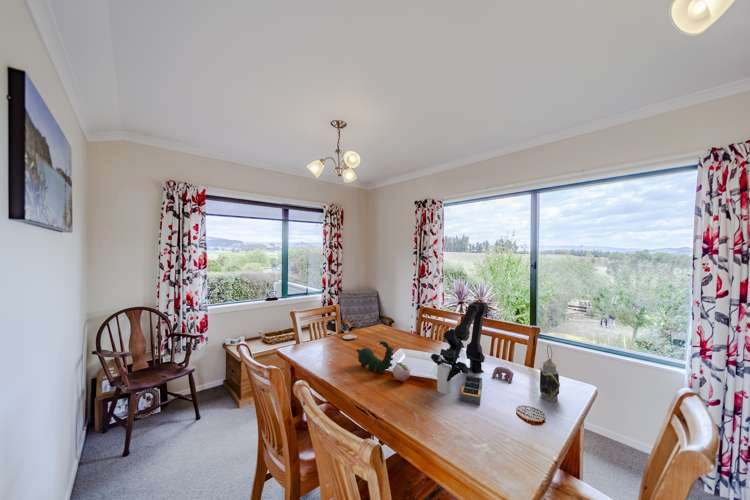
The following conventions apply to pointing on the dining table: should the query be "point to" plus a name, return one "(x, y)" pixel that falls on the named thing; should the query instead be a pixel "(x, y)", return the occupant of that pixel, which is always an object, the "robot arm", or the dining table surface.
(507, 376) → the video game controller
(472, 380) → the rack
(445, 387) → the light grey block
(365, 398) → the dining table surface
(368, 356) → the toy figurine
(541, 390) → the lantern
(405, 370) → the decorative fruit
